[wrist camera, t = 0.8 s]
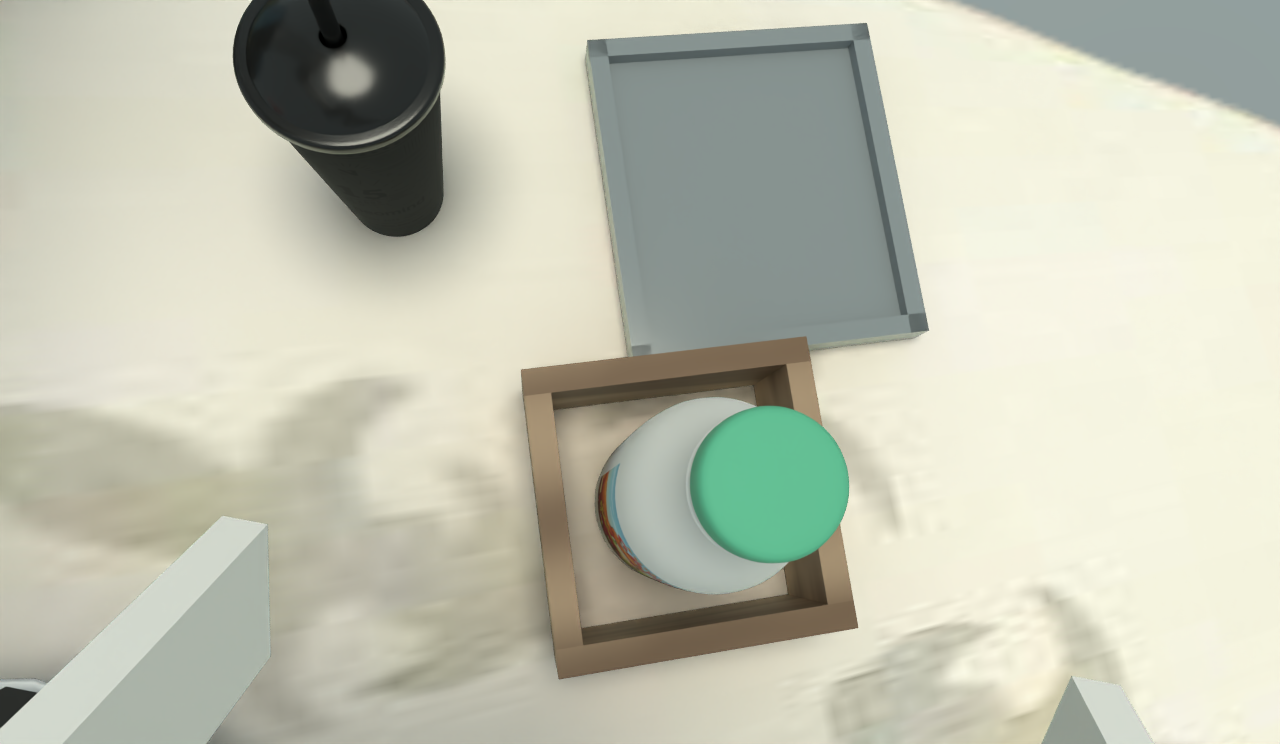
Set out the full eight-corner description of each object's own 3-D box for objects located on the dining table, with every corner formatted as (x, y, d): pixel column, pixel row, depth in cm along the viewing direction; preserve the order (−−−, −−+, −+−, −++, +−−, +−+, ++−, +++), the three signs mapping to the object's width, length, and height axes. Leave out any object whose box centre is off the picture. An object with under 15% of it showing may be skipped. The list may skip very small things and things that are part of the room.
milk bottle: (598, 422, 44) (651, 339, 25) (743, 433, 45) (906, 361, 26) (588, 575, 43) (635, 614, 23) (738, 583, 44) (905, 628, 24)
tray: (585, 58, 48) (587, 40, 46) (855, 40, 50) (866, 23, 48) (630, 372, 45) (634, 365, 43) (914, 337, 47) (929, 330, 46)
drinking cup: (313, 133, 45) (147, -168, 26) (459, 118, 46) (407, -180, 27) (329, 271, 44) (169, 67, 24) (479, 252, 45) (439, 43, 26)
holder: (522, 390, 44) (521, 369, 38) (771, 360, 46) (806, 336, 40) (554, 658, 42) (558, 679, 36) (814, 614, 44) (858, 627, 38)
